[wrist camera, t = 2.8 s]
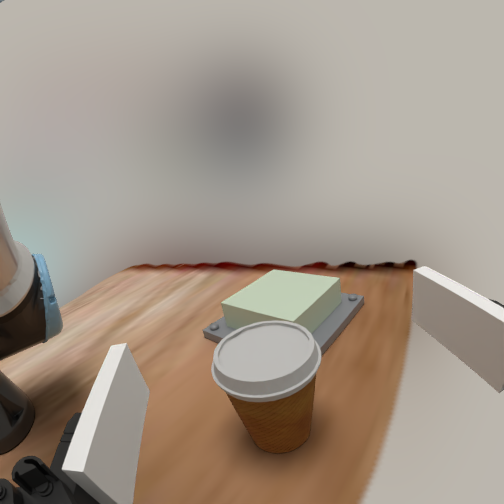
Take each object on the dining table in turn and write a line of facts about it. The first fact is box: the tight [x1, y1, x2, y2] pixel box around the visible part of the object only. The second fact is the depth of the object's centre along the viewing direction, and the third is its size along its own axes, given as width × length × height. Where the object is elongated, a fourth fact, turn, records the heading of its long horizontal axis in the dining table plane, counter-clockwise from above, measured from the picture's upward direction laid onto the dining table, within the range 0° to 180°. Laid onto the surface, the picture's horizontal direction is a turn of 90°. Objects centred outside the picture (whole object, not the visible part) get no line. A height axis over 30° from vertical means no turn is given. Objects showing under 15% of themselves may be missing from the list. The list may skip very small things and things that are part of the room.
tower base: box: [203, 270, 364, 356], centre depth 48 cm, size 20×20×6 cm
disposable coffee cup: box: [211, 320, 321, 453], centre depth 26 cm, size 10×10×12 cm
